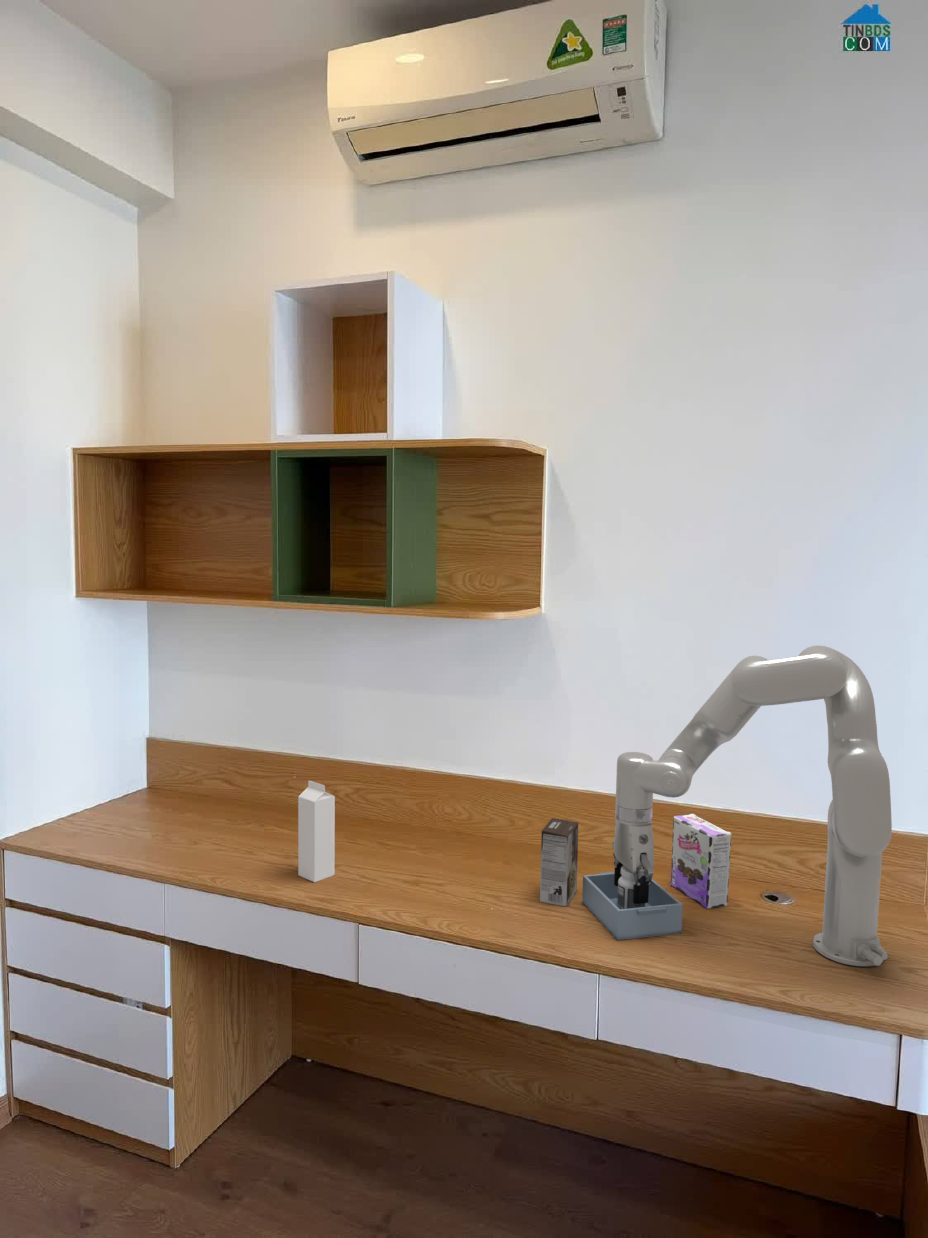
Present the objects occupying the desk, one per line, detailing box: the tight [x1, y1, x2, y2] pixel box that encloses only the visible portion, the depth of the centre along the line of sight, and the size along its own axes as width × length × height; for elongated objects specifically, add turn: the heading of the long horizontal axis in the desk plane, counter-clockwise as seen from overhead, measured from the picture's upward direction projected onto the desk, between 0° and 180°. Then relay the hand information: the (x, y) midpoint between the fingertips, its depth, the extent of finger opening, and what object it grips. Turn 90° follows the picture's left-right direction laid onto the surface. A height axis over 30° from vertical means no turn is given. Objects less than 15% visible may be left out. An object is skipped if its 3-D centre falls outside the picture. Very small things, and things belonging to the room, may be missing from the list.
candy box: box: [670, 813, 732, 909], centre depth 188 cm, size 14×6×16 cm, turn 21°
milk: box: [297, 780, 336, 883], centre depth 195 cm, size 6×6×22 cm
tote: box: [581, 870, 684, 941], centre depth 176 cm, size 20×14×6 cm
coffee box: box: [539, 817, 579, 907], centre depth 186 cm, size 9×6×16 cm
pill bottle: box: [617, 866, 645, 909], centre depth 176 cm, size 6×6×10 cm
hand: (630, 893), depth 176 cm, fingers open, 8 cm apart
